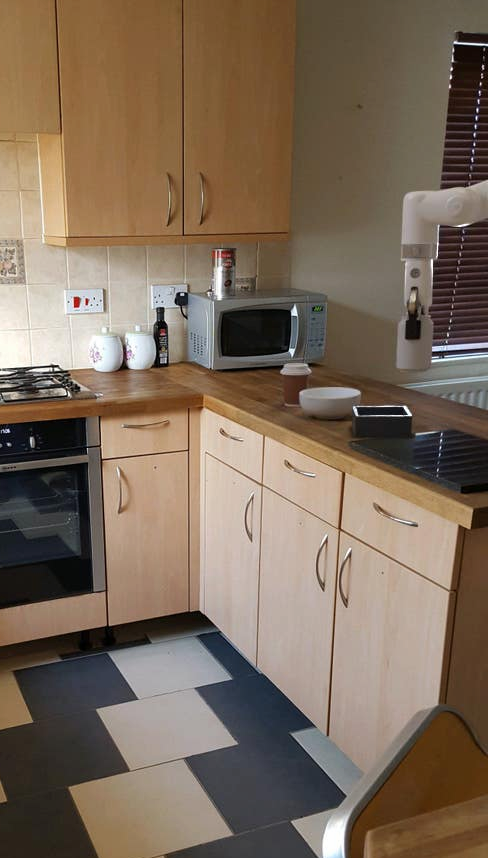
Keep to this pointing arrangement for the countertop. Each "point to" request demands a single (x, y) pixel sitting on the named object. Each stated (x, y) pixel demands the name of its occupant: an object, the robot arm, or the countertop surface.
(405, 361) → the can
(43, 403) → the countertop surface
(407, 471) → the countertop surface
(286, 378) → the coffee cup
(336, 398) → the cereal bowl
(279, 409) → the countertop surface
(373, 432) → the tote
